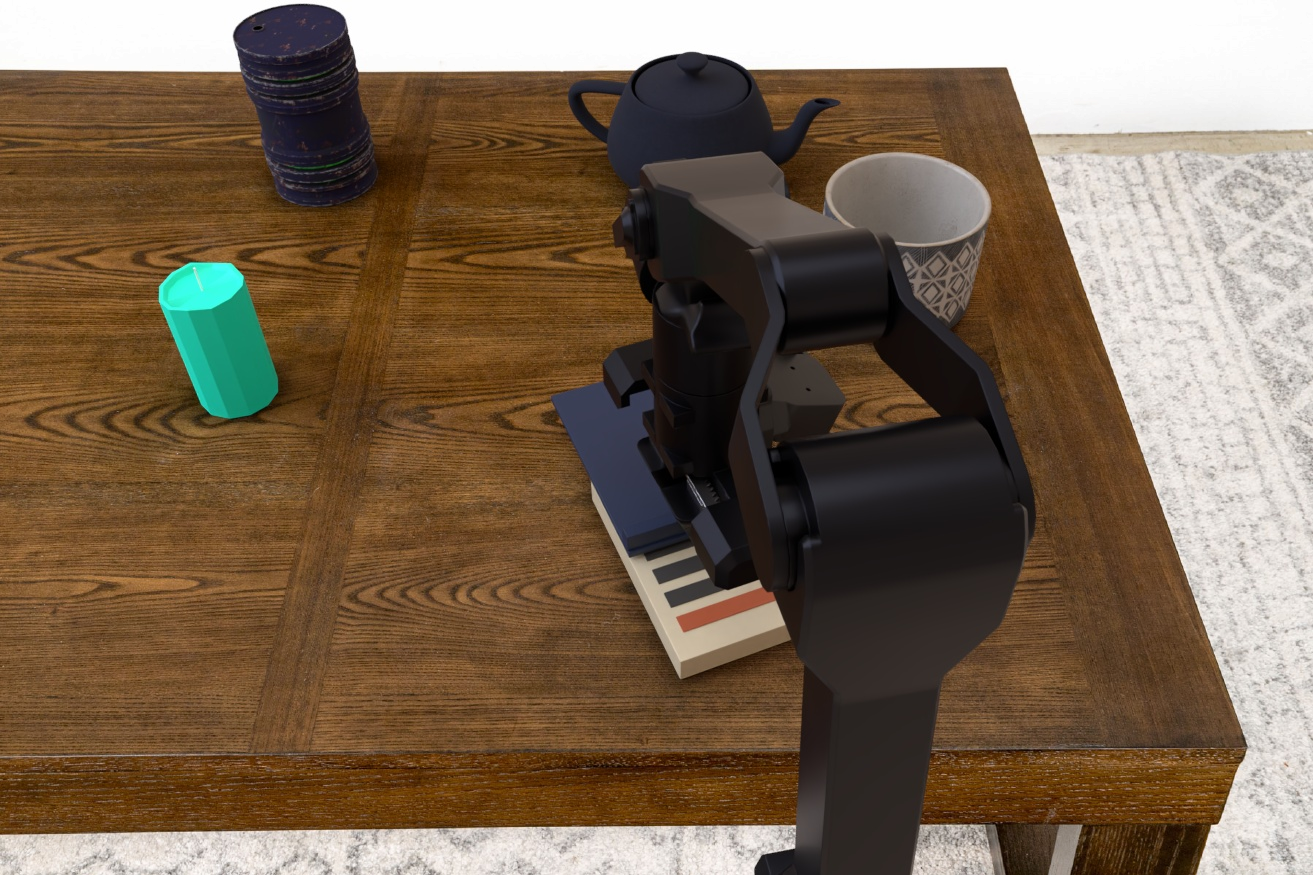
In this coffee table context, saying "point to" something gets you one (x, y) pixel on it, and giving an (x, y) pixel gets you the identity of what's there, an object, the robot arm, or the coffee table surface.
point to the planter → (919, 221)
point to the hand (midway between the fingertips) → (699, 538)
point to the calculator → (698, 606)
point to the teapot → (689, 114)
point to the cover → (619, 465)
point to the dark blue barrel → (307, 103)
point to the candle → (219, 338)
